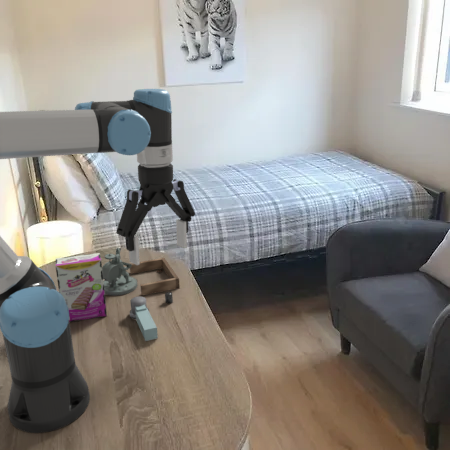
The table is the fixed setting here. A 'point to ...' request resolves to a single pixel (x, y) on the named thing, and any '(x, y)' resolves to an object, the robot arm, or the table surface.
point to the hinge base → (167, 299)
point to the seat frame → (157, 264)
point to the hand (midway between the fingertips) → (159, 254)
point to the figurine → (117, 276)
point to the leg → (143, 318)
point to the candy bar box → (82, 286)
